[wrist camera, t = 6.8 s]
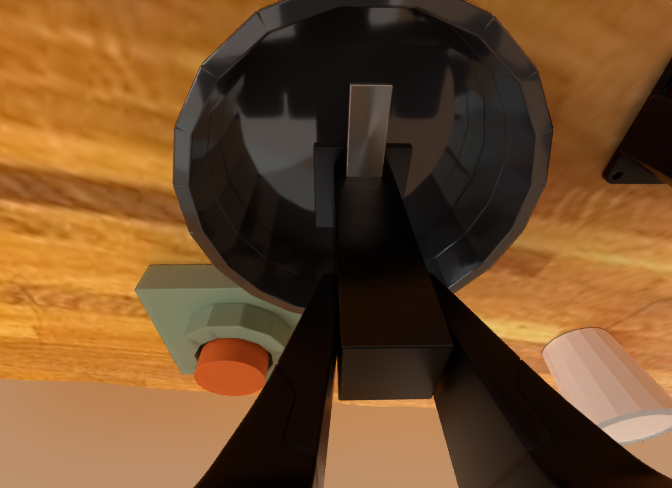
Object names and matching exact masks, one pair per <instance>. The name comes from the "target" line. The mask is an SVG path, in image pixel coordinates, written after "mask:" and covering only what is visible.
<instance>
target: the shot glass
mask: <svg viewBox="0 0 672 488" xmlns="http://www.w3.org/2000/svg"><path fill="white" fill-rule="evenodd" d="M542 355H543V358H544V360H545V362H546V364H547V366H548V368H549V370H550V373H551V375H552V377H553V379H554V381H555V383H556V385H557V387H558V390H559V392H560V394H561V396H562V397H564V398H565V399H566V400H567V401H568V402H569V403H570V404H572V405H573V406H574V407H575V408H576V409H578V410H579V411H580V412H581V413H582V414H584V415H585V416H586V417H587V418H589V419H590V420H591V421H592V422H593V423H595V424H596V425H597V426H598V427H599V428H601V429H602V430H603V431H604V432H605V433H607V434H608V435H609V436H610V437H611V438H613V439H614V440H615V441H616V442H617V443H619V444H620V445H626V444H630V443H635V442H640V441H644V440H648V439H651V438H654V437H657V436H660V435H663V434H665V433H667V432H669V431H671V430H672V397H671V396H670V395H669V394H668V393H667V392H666V391H665V390H664V389H663V388H662V387H661V386H660V385H659V384H658V383H657V382H656V381H655V380H654V379H653V378H652V377H651V376H650V375H649V374H648V373H647V372H646V371H645V370H644V369H643V367H642V366H641V365H640V364H639V363H638V362H637V361H636V360H635V359H634V358H633V357H632V356H631V355H630V354H629V353H628V352H627V351H626V350H625V349H624V348H623V347H622V346H621V345H620V344H619V343H618V342H617V341H616V340H615V339H614V338H613V337H612V336H611V335H610V334H609V333H608V332H607V331H605V330H603V329H599V328H585V329H578V330H575V331H572V332H568V333H565V334H563V335H561V336H559V337H557V338H556V339H554V340H552V341H551V342H550V343H549V344H548V345H547V346H546V347H545V348H544V350H543V353H542Z"/></svg>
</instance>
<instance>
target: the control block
mask: <svg viewBox="0 0 672 488" xmlns="http://www.w3.org/2000/svg"><path fill="white" fill-rule="evenodd" d="M135 292H136V293H137V295H138V297H139V299H140V301H141V302H142V304H143V306H144V308H145V309H146V311H147V313H148V315H149V317H150V318H151V320H152V322H153V324H154V325H155V327H156V329H157V331H158V333H159V334H160V336H161V338H162V340H163V341H164V343H165V345H166V347H167V349H168V350H169V352H170V354H171V356H172V358H173V359H174V361H175V363H176V365H177V366H178V368H179V370H180V372H181V374H193V375H194V372H195V369H196V366H197V363H198V360H199V357H200V354H201V351H202V348H203V346H204V345H205V344H206V343H207V342H209V341H211V340H214V339H216V338H240V339H244V340H247V341H251V342H254V343H257V344H259V345H261V346H262V347H263V348H264V349H266V350H267V351H268V354H269V360H268V367H267V374H266V381H265V384H266V382H267V380H268V378H269V377H270V375H271V373H272V371H273V369H274V367H275V365H276V364H278V360H279V358H280V356H281V354H282V352H283V350H284V348H285V346H286V344H287V343H288V341H289V339H290V337H291V335H292V333H293V331H294V329H295V327H296V325H297V323H298V321H299V320H300V318H301V316H302V314H297V313H292V312H289V311H287V310H284V309H282V308H280V307H277V306H275V305H273V304H270V303H268V302H265V301H263V300H261V299H258V298H256V297H254V296H252V295H250V294H249V293H248V292H246V291H245V290H244V289H242V288H241V287H240V286H238V285H237V284H236V283H234V282H233V281H232V280H230V279H229V278H228V277H226V276H225V275H224V274H222V273H221V272H220V271H218V269H216V267H215V266H214V265H149V266H148V268H147V270H146V271H145V273H144V275H143V276H142V278H141V280H140V281H139V283H138V284H137V286H136V288H135Z"/></svg>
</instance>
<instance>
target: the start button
mask: <svg viewBox="0 0 672 488" xmlns="http://www.w3.org/2000/svg"><path fill="white" fill-rule="evenodd" d="M268 360H269V354H268V351H267V350H266V349H264V348H263V347H262V346H261V345H259V344H257V343H254V342H251V341H247V340H244V339H240V338H216V339H214V340H211V341H209V342H207V343H206V344H205V345H204V346H203V348H202V351H201V354H200V357H199V360H198V363H197V366H196V369H195V372H194V379H195V381H196V382H197V383H198V385H200V386H201V387H202V388H204V389H206V390H208V391H210V392H213V393H217V394H221V395H229V396H241V395H248V394H252V393H254V392H257V391H259V390H260V389H261V388H262V387H263V386H264V385H265V381H266V374H267V367H268Z"/></svg>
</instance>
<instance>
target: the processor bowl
mask: <svg viewBox="0 0 672 488" xmlns="http://www.w3.org/2000/svg"><path fill="white" fill-rule="evenodd" d="M350 83H392V85H393V89H392V97H391V105H390V114H389V122H388V130H387V138H386V143H410V144H411V145H412V147H413V150H412V156H411V161H410V167H409V172H408V178H407V184H406V189H405V195H404V201H403V203H404V206H405V209H406V212H407V214H408V217H409V220H410V223H411V226H412V229H413V231H414V234H415V237H416V240H417V243H418V245H419V248H420V251H421V254H422V257H423V260H424V262H425V265H426V268H427V271H428V272H431V273H433V274H434V275H435V276H436V277H437V278H438V279H439V280H440V281H441V282H442V283H443V284H444V285H445V286H446V287H447V288H448V289H449V290H450V291H451V292H452V293H453V294H454V293H456V292H457V291H459V290H460V289H461V288H463V287H464V286H466V285H467V284H469V283H470V282H471V281H473V280H474V279H476V278H477V277H478V276H480V275H481V274H483V273H484V272H486V271H487V270H488V269H490V268H491V267H492V266H493V265H494V264H495V263H496V262H497V261H498V259H499V258H500V257H501V256H502V255H503V254H504V253H505V251H506V250H507V249H508V248H509V247H510V246H511V245H512V244H513V242H514V241H515V240H516V239H517V238H518V237H519V236H520V234H521V233H522V232H523V230H524V229H525V227H526V225H527V223H528V221H529V219H530V217H531V215H532V213H533V211H534V209H535V207H536V204H537V202H538V200H539V198H540V196H541V194H542V192H543V190H544V188H545V184H546V182H547V175H548V167H549V159H550V152H551V144H552V136H553V125H552V121H551V117H550V113H549V110H548V106H547V102H546V98H545V94H544V90H543V86H542V83H541V79H540V75H539V71H538V70H537V67H536V66H535V64H534V63H533V62H532V61H531V60H530V58H529V57H528V56H527V55H526V53H525V52H524V51H523V50H522V48H521V47H520V46H519V45H518V44H517V42H516V41H515V40H514V39H513V37H512V36H511V35H510V34H509V33H508V31H507V30H506V29H505V28H504V26H503V25H502V24H501V23H500V21H499V20H498V19H497V18H496V17H495V16H493V15H492V13H490V12H488V11H486V10H484V9H481V8H479V7H477V6H475V5H473V4H471V3H469V2H467V1H465V0H279V1H277V2H274V3H272V4H270V5H267V6H265V7H263V8H260V9H259V10H258V11H256V12H254V13H253V14H252V15H251V16H250V17H249V18H248V19H247V20H246V21H245V22H244V23H243V24H242V25H241V26H240V27H239V28H238V29H237V30H236V31H235V32H234V33H233V34H232V35H231V36H230V37H228V38H227V39H226V40H225V41H224V42H223V43H222V44H221V45H220V46H219V47H218V48H217V49H216V50H215V51H214V52H213V53H212V54H211V55H210V56H209V57H208V58H207V59H206V60H205V61H204V62H203V63H202V65H201V66H200V68H199V70H198V72H197V75H196V77H195V79H194V81H193V84H192V86H191V88H190V91H189V93H188V95H187V98H186V100H185V102H184V105H183V107H182V109H181V111H180V114H179V116H178V118H177V121H176V123H175V128H174V153H173V187H174V190H175V193H176V196H177V199H178V202H179V204H180V207H181V210H182V213H183V216H184V219H185V222H186V225H187V228H188V230H189V232H190V235H191V236H192V237H193V239H194V240H195V241H196V242H197V244H198V245H199V246H200V248H201V249H202V250H203V252H204V253H205V254H206V256H207V257H208V258H209V260H210V261H211V262H212V263H213V265H214V266H215V267H216V269H218V271H220V272H221V273H222V274H224V275H225V276H226V277H228V278H229V279H230V280H232V281H233V282H234V283H236V284H237V285H238V286H240V287H241V288H242V289H244V290H245V291H246V292H248V293H249V294H250V295H252V296H254V297H256V298H258V299H261V300H263V301H265V302H268V303H270V304H273V305H275V306H277V307H280V308H282V309H284V310H287V311H289V312H292V313H297V314H303V312H304V310H305V308H306V306H307V304H308V302H309V300H310V298H311V297H312V295H313V293H314V291H315V289H316V287H317V285H318V283H319V281H320V279H321V277H322V275H323V274H324V273H334V246H333V228H316V227H315V193H314V157H313V144H314V143H315V142H322V143H347V139H348V115H349V91H350Z"/></svg>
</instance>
